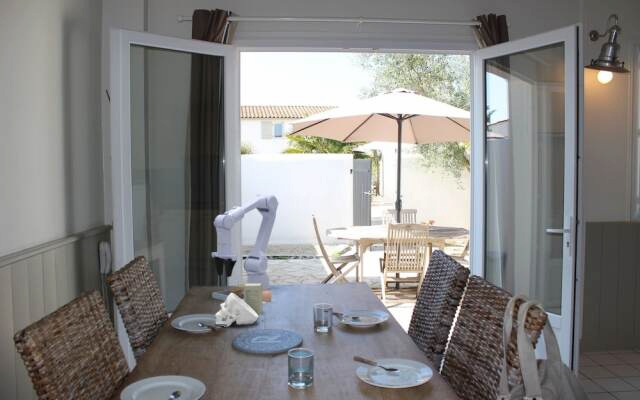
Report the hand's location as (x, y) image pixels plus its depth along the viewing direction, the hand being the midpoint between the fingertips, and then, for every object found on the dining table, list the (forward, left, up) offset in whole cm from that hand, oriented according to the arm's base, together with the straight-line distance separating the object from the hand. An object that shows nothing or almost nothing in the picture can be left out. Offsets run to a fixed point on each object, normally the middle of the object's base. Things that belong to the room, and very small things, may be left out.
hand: (224, 275), depth 252 cm
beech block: (-7, +2, -9) cm, 12 cm away
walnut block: (0, +7, -9) cm, 11 cm away
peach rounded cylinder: (-7, +19, -9) cm, 22 cm away
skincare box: (+9, +29, -11) cm, 32 cm away
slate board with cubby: (-3, +9, -10) cm, 14 cm away
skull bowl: (+20, +33, -11) cm, 40 cm away
